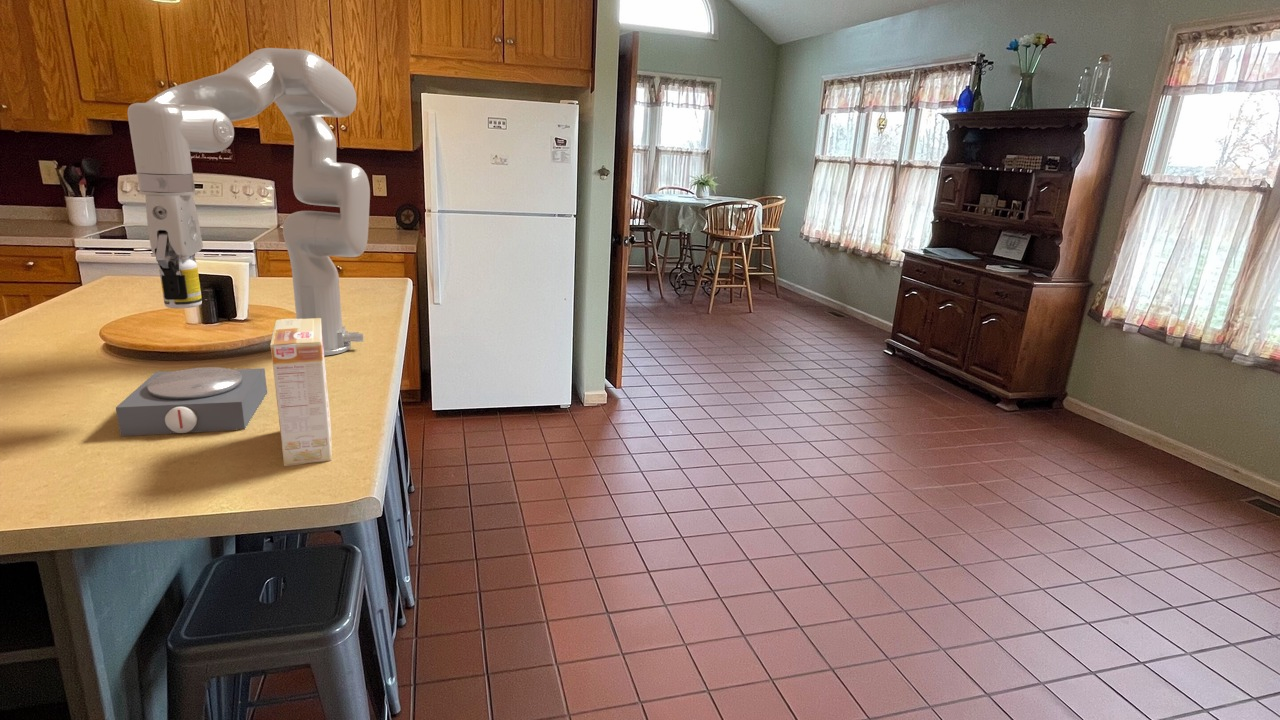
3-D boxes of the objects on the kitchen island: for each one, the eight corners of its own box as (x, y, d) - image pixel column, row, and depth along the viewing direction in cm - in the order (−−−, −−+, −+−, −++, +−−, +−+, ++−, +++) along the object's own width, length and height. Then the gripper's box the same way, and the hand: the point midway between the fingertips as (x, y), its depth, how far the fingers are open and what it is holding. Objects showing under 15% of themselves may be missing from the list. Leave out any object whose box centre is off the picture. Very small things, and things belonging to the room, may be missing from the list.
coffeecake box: (286, 429, 119) (274, 318, 113) (331, 425, 122) (322, 316, 116) (281, 467, 106) (268, 344, 100) (332, 461, 109) (322, 341, 103)
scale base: (267, 392, 135) (264, 368, 133) (243, 431, 117) (240, 404, 116) (159, 397, 130) (155, 371, 128) (118, 438, 112) (113, 409, 111)
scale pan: (250, 371, 131) (249, 366, 130) (231, 397, 118) (230, 391, 118) (164, 373, 127) (163, 368, 126) (134, 401, 114) (133, 395, 114)
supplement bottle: (209, 303, 121) (202, 246, 118) (187, 310, 116) (178, 251, 113) (180, 300, 121) (172, 244, 118) (156, 307, 116) (147, 249, 113)
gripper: (175, 189, 106) (192, 306, 111) (208, 182, 121) (222, 284, 127) (117, 188, 104) (137, 307, 109) (159, 180, 119) (174, 284, 125)
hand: (182, 293), depth 118 cm, fingers closed on supplement bottle, 5 cm apart
